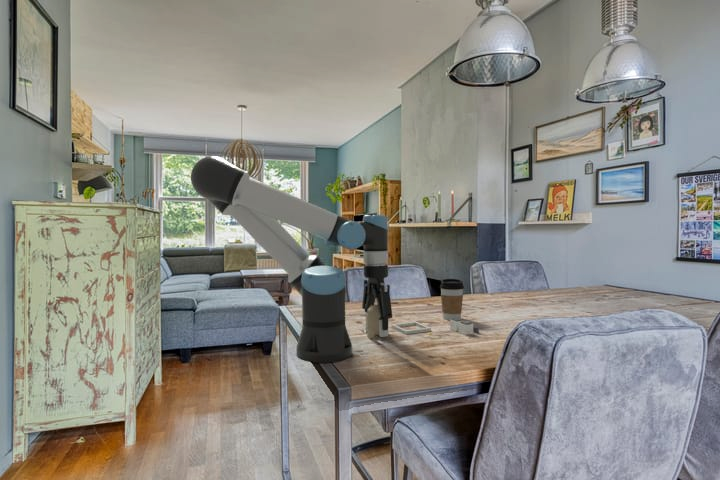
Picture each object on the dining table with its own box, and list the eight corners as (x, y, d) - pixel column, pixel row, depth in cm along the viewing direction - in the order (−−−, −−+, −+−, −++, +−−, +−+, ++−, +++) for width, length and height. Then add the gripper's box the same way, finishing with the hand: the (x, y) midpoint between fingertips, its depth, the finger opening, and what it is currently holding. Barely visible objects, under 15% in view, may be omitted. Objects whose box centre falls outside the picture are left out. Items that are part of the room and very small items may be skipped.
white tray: (418, 347, 116) (418, 336, 116) (388, 332, 133) (388, 322, 133) (480, 338, 125) (480, 327, 125) (445, 324, 142) (445, 315, 142)
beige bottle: (383, 339, 124) (383, 307, 124) (366, 338, 126) (365, 306, 125) (386, 334, 130) (386, 303, 129) (369, 334, 131) (369, 303, 131)
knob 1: (456, 331, 127) (456, 320, 127) (450, 329, 130) (450, 318, 130) (463, 330, 129) (463, 319, 128) (458, 328, 131) (458, 317, 131)
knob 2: (465, 334, 123) (465, 323, 123) (459, 332, 126) (459, 321, 126) (473, 333, 124) (473, 322, 124) (466, 331, 127) (466, 320, 127)
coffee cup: (462, 319, 149) (462, 278, 148) (465, 325, 140) (465, 282, 140) (438, 319, 150) (438, 278, 149) (441, 325, 141) (440, 282, 140)
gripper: (404, 267, 118) (404, 343, 119) (372, 261, 138) (372, 326, 139) (380, 268, 115) (381, 347, 116) (351, 262, 135) (352, 329, 136)
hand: (376, 336), depth 128 cm, fingers open, 9 cm apart
